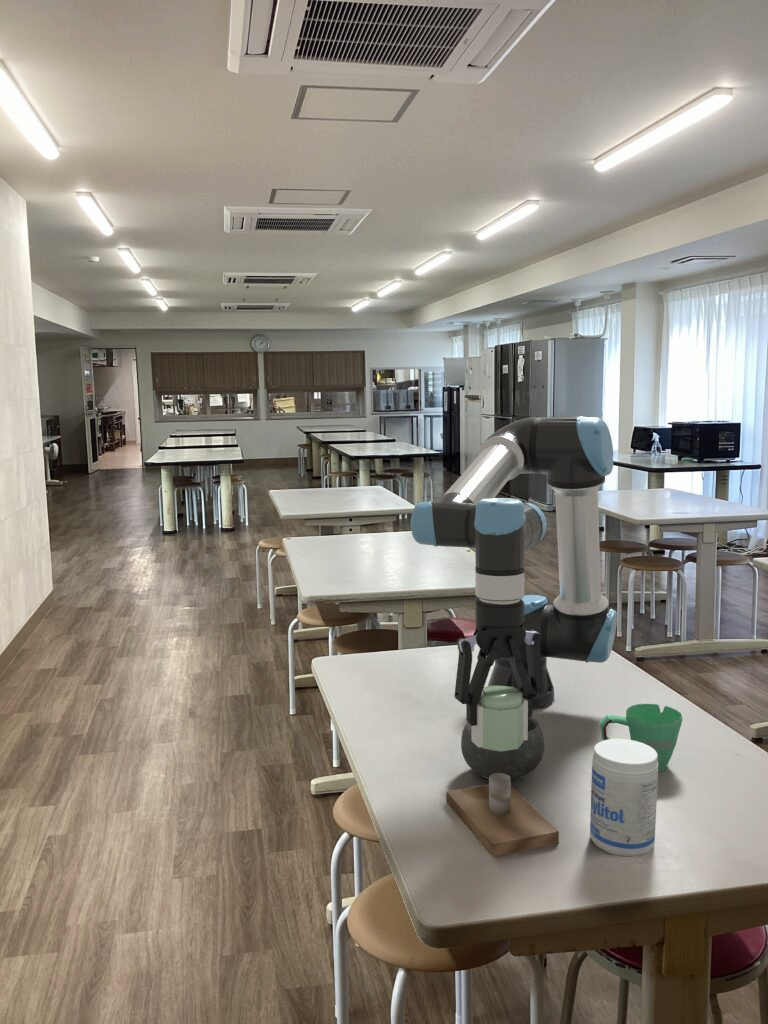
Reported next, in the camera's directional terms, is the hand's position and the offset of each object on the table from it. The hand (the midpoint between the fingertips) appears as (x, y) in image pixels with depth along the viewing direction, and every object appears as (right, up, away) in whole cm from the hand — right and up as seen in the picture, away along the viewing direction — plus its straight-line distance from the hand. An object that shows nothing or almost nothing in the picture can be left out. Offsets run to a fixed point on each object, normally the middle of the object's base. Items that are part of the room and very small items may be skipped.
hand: (499, 740), depth 131 cm
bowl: (+3, -12, +19) cm, 22 cm away
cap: (0, 0, 0) cm, 0 cm away
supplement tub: (+18, -14, -5) cm, 24 cm away
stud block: (0, -14, +2) cm, 14 cm away
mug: (+29, -11, +22) cm, 38 cm away
